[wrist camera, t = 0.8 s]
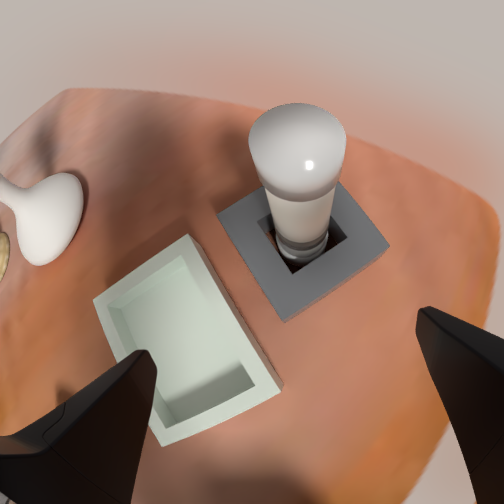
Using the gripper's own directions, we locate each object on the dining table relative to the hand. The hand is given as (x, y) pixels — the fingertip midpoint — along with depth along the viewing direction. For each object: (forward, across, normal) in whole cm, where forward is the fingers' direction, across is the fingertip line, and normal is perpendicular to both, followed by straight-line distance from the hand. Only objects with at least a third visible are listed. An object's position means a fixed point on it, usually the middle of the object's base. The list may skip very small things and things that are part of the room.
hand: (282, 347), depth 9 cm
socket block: (+15, -2, +2) cm, 15 cm away
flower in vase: (+19, +24, -3) cm, 31 cm away
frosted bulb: (+15, -2, +2) cm, 15 cm away
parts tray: (+10, +8, +8) cm, 15 cm away
